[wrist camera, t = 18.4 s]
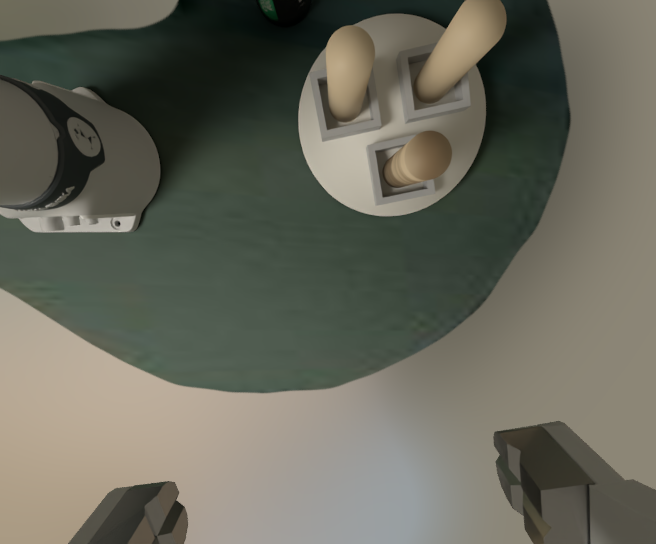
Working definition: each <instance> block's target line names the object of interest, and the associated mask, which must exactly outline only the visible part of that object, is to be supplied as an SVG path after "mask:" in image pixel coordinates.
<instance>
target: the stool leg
mask: <svg viewBox="0 0 656 544" xmlns="http://www.w3.org/2000/svg"><path fill="white" fill-rule="evenodd" d="M451 159H452V148H451V145H450V143H449V141H448V139H447V138H446V137H445V136H444V135H443V134H441V133H439V132H436V131H424V132H421V133H419V134H417V135H416V136H415V137H414V138H412V139H411V140H410V141H409V142H408V143H407V144H405V145H404V146H403V147H402V148H401V149H400V150H398V151H397V152H396V153H395V154H394V155H393V156H391V157H390V158H389V159H388V160H387V161H386V162H385V164H384V166H383V170H382V175H383V179H384V181H385V182H386V183H387V184H388V185H389V186H391V187H394V188H401V187H405V186H409V185H412V184H416V183H420V182H424V181H427V180H431V179H435V178H437V177H439V176H440V175H442V174H443V173H444V172H445V171H446V170H447V168H448V167H449V165H450V162H451Z"/></svg>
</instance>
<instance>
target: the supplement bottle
mask: <svg viewBox="0 0 656 544" xmlns="http://www.w3.org/2000/svg"><path fill="white" fill-rule="evenodd" d="M311 1H312V0H256V2H257V4H258V7H259V9H260V11H261V13H262V14H263V16H264V17H265V18H266V19H267V20H268V21H269V22H271V23H272V24H274V25H276V26H280V27H290V26H293V25H295V24H297V23H299V22H300V21H301V20H302V19H303V18H304V17H305V16H306V14H307V13H308V11H309V8H310V5H311Z"/></svg>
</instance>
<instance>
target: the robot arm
mask: <svg viewBox="0 0 656 544" xmlns="http://www.w3.org/2000/svg"><path fill="white" fill-rule="evenodd" d="M159 180H160V160H159V155H158V152H157V149H156V146H155V144H154V142H153V140H152V138H151V136H150V135H149V133H148V132H147V131H146V129H145V128H144V127H143V126H142V125H141V124H140V123H139V122H138V121H137V120H136V119H134V118H133V117H132V116H130V115H129V114H127V113H125V112H123V111H121V110H119V109H116V108H114V107H112V106H110V105H108V104H106V103H105V102H104V101H103V100H102V99H101V98H100V97H99V96H98V95H97V94H96V93H95V92H93V91H92V90H90V89H87V88H84V87H78V88H75V89H74V90H72V91H70V90H67V89H64V88H61V87H58V86H54V85H51V84H48V83H45V82H42V81H33V82H32V84H29V83H26V82H24V81H21V80H17V79H14V78H13V79H12V78H9V77H5V76H2V75H0V214H1V215H3V216H4V217H7V218H19V219H20V220H21V222H22V223H23V224H24V225H25V226H26V227H28V228H29V229H30V230H31V231H33V232H133V231H135V230H136V229H137V227H138V225H139V221H140V218H141V213H142V211H143V210H144V208H145V207H146V206H147V205H148V203H149V202H150V201H151V200H152V198H153V197H154V195H155V193H156V190H157V188H158V185H159ZM118 221H119V222H120V226H119V225H118ZM494 446H495V448H496V449H497V451H498V452H499V454H500V456H499V457H498V459H497V460H496V467H497V474H498V477H499V480H500V483H501V487H502V489H503V491H504V493H505V495H506V497H507V499H508V501H509V503H510V504H511V506H512V508H513V509H514V510H516V511H517V512H519V513H520V514H521V515H523V516H524V525H525V530H526V532H527V533H528V535H529V537H530V539H531V540H532V542H533V543H534V544H656V490H655V489H652V488H650V487H648V486H646V485H643V484H642V483H639V482H637V481H635V480H624V479H623V478H622V477H621V476H620V475H619V474H618V473H617V472H616V471H615V470H614V469H613V468H612V467H611V466H610V465H608V464H607V463H606V462H605V461H604V460H603V459H602V458H601V457H600V456H599V455H598V454H597V453H596V452H595V451H593V450H592V449H591V448H590V447H589V446H588V445H587V444H586V443H585V442H584V441H583V440H582V439H581V438H580V437H579V436H578V435H577V434H575V433H574V432H573V431H572V430H571V429H570V428H569V427H568V426H567V425H566V424H565V423H563V422H560V421H556V422H550V423H545V424H539V425H537V426H536V425H534V426H528V427H521V428H515V429H509V430H503V431H497V432H495V433H494ZM178 494H179V491H178V489H177V486H176V484H175V482H169V481H168V482H159V483H151V484H143V485H135V486H131V487H122V488H116V489H114V490H112V491H111V492H109V493H108V494H107V495H106V497H105V498H104V499H103V500H102V502H101V503H100V504H99V505H98V507H97V508H96V509H95V511H94V512H93V513H92V514H91V516H90V517H89V518H88V519H87V521H86V522H85V523H84V524H83V526H82V527H81V528H80V529H79V531H78V532H77V533H76V535H75V536H74V537H73V538H72V540H71V541H70V542H69V543H68V544H184V541H185V539H186V533H187V528H188V520H187V519H188V518H187V512H186V510H185V507H184V506H183V505H181V504H180V503H179V502H178V501H176V499H177V497H178Z"/></svg>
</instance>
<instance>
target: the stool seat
mask: <svg viewBox="0 0 656 544" xmlns="http://www.w3.org/2000/svg"><path fill="white" fill-rule="evenodd" d="M505 27H506V11H505V8H504V6H503V4H502V2H501V1H500V0H466V1H465V2H464V3H463V4H462V5H461V7H460V8H459V10H458V12H457V13H456V15H455V16H454V18H453V19H452V21H451V23H450V24H449V26H448V27H447V29H445V28H443V27H442V26H440V25H439V24H437V23H435V22H432V21H430V20H428V19H425V18H422V17H419V16H415V15H408V14H385V15H379V16H375V17H372V18H368V19H365V20H363V21H361V22H359V23H356V24H354V25H349V26H344V27H342V28H340V29H338V30H337V31H336V32H334V33H333V35H332V36H331V37H330V39H329V41H328V44H327V46H326V48H325V49H324V50H323V51H322V52H321V53H320V55H319V56H318V58H317V59H316V61H315V63H314V64H313V66H312V68H311V70H310V72H309V74H308V76H307V78H306V81H305V84H304V87H303V90H302V94H301V99H300V104H299V114H298V123H299V135H300V142H301V146H302V149H303V153H304V156H305V158H306V161H307V163H308V165H309V167H310V169H311V171H312V173H313V174H314V176H315V177H316V179H317V180H318V181H319V183H320V184H321V185H322V187H323V188H324V189H325V190H326V191H327V192H328V193H329V194H330V195H331V196H333V197H334V198H335V199H336V200H338V201H339V202H341V203H342V204H344V205H346V206H347V207H349V208H352V209H354V210H356V211H359V212H363V213H366V214H370V215H377V216H398V215H405V214H409V213H412V212H416V211H419V210H421V209H423V208H426V207H428V206H430V205H432V204H433V203H435V202H437V201H438V200H440V199H441V198H442V197H444V196H445V195H446V194H448V193H449V192H450V191H451V190H452V189H453V188H454V187H455V186H456V185H457V184H458V183H459V182H460V180H461V179H462V178H463V177H464V176H465V174H466V173H467V171H468V169H469V168H470V166H471V165H472V163H473V161H474V159H475V157H476V155H477V153H478V150H479V147H480V144H481V141H482V137H483V133H484V128H485V120H486V99H485V92H484V86H483V83H482V79H481V76H480V73H479V71H478V68H477V66H476V63H477V62H478V61H479V60H480V59H481V58H482V57H483V56H484V55H485V54H486V53H487V52H488V51H489V50H490V49H491V48H492V47H493V46H494V45H495V44H496V43H497V42H498V41H499V40H500V38H501V37H502V35H503V33H504V30H505ZM424 131H436V132H439V133H441V134H443V135H444V136H445V137H446V138H447V139H448V141H449V143H450V145H451V148H452V159H451V162H450V165H449V167H448V168H447V170H446V171H445V172H444V173H443V174H442V175H440V176H439V177H437V178H435V179H431V180H427V181H424V182H420V183H416V184H412V185H409V186H405V187H401V188H394V187H391V186H389V185H388V184H387V183H386V182H385V181H384V179H383V175H382V170H383V166H384V164H385V162H386V161H387V160H388V159H389V158H390V157H391V156H393V155H394V154H395V153H396V152H397V151H398V150H400V149H401V148H402V147H403V146H404V145H405V144H407V143H408V142H409V141H410V140H411V139H412V138H414V137H415V136H416V135H417V134H419V133H421V132H424Z"/></svg>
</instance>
